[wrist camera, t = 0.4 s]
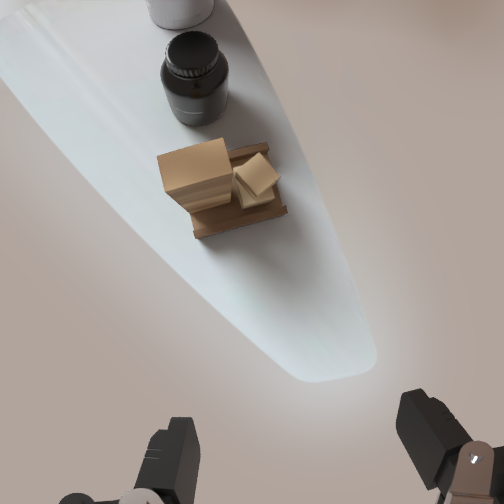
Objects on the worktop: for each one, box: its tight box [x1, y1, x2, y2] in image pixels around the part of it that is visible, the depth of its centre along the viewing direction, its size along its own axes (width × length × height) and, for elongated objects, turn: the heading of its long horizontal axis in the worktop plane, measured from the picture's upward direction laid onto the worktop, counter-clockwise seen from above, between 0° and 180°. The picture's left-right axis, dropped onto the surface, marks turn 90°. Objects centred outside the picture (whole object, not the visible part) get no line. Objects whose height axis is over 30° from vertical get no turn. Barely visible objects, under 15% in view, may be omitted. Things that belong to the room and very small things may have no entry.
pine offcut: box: [233, 166, 275, 210], centre depth 34 cm, size 4×3×4 cm
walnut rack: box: [190, 142, 288, 239], centre depth 35 cm, size 8×10×3 cm
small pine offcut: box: [235, 153, 280, 200], centre depth 31 cm, size 3×3×3 cm
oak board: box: [157, 138, 233, 214], centre depth 28 cm, size 2×4×15 cm, turn 105°
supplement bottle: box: [160, 31, 229, 126], centre depth 30 cm, size 7×7×12 cm
